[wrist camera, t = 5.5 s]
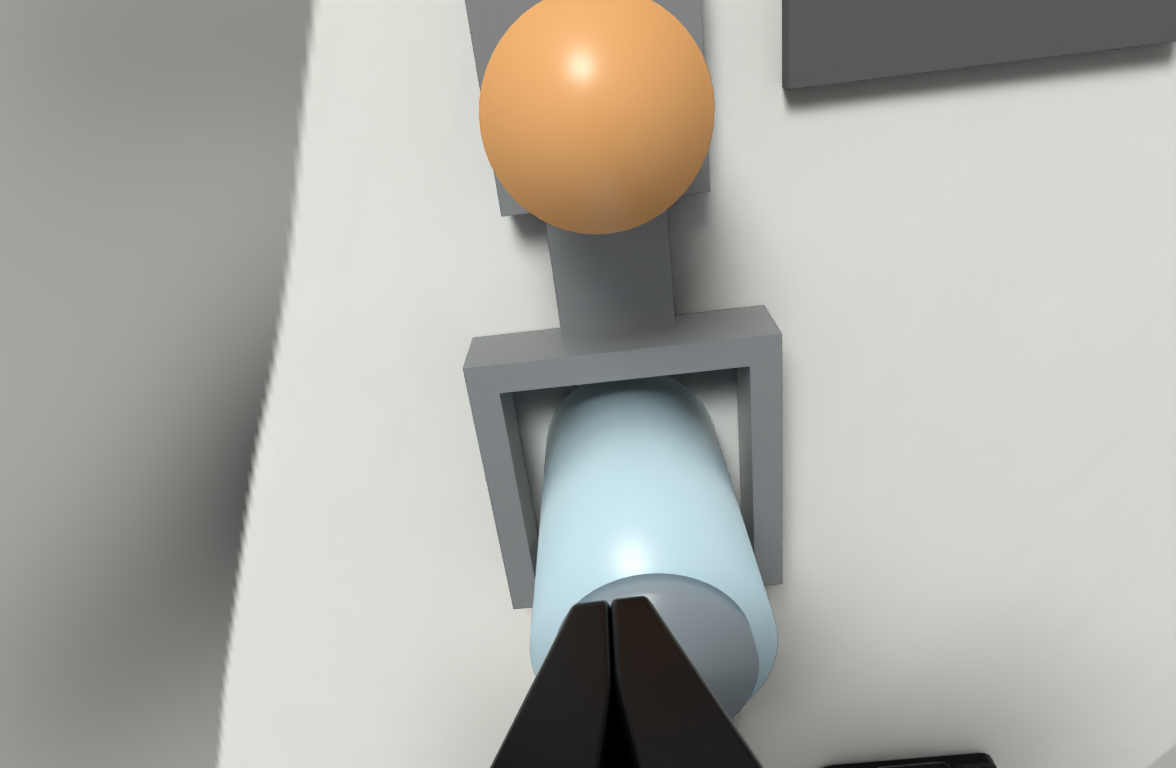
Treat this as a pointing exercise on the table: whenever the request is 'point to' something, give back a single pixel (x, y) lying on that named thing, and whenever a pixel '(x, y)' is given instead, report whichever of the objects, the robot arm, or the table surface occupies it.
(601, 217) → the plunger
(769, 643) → the cylinder
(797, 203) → the table surface
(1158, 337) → the table surface
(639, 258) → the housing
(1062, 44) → the mat
